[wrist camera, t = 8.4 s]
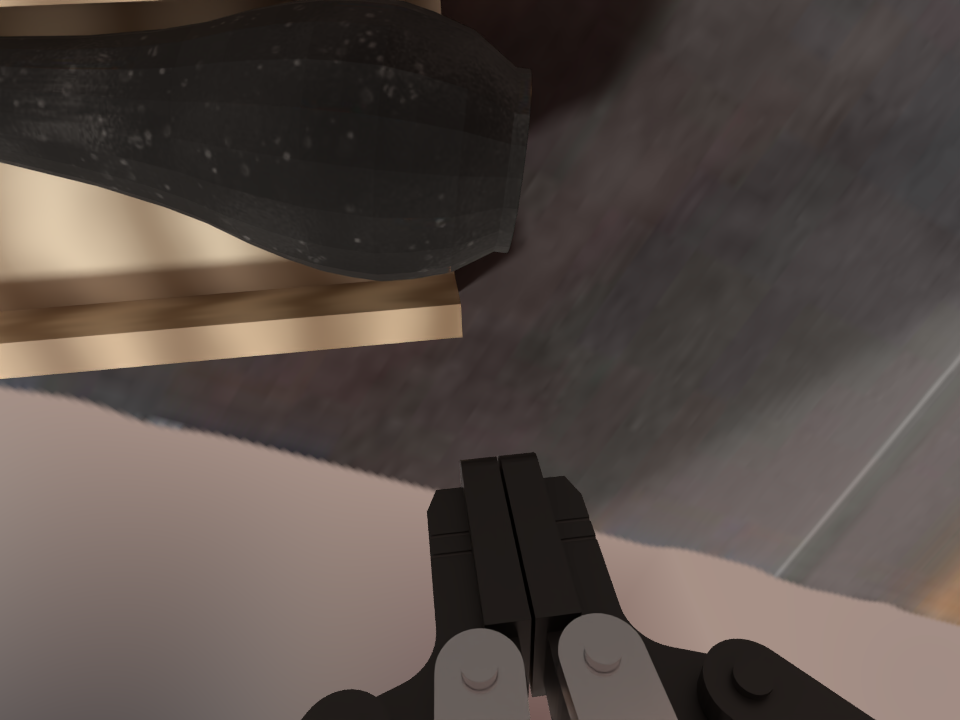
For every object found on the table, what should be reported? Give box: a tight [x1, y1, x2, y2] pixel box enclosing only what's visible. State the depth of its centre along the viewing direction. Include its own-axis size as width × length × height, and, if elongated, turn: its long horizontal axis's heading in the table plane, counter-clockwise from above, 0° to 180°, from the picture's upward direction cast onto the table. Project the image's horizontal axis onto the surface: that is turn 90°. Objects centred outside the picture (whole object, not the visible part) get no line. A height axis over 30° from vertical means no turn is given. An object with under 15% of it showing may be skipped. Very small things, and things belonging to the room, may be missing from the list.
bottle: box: [0, 0, 532, 281], centre depth 25 cm, size 11×11×30 cm
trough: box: [0, 0, 462, 379], centre depth 29 cm, size 28×18×4 cm, turn 91°
